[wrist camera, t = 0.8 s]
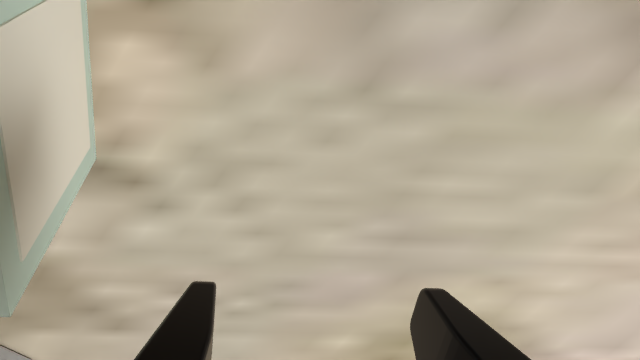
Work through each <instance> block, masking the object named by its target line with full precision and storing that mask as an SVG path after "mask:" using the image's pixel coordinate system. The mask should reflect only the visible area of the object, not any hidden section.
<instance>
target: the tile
mask: <svg viewBox="0 0 640 360" xmlns="http://www.w3.org/2000/svg"><path fill="white" fill-rule="evenodd" d="M95 160H96V146H95V130H94V114H93V98H92V82H91V66H90V50H89V34H88V18H87V2H86V0H0V317H11V315H12V313H13V311H14V309H15V308H16V306H17V304H18V302H19V300H20V298H21V296H22V295H23V293H24V291H25V289H26V287H27V285H28V284H29V282H30V280H31V278H32V276H33V274H34V272H35V271H36V269H37V267H38V265H39V263H40V261H41V260H42V258H43V256H44V254H45V252H46V250H47V248H48V247H49V245H50V243H51V241H52V239H53V237H54V236H55V234H56V232H57V230H58V228H59V226H60V224H61V223H62V221H63V219H64V217H65V215H66V213H67V212H68V210H69V208H70V206H71V204H72V202H73V200H74V199H75V197H76V195H77V193H78V191H79V189H80V187H81V186H82V184H83V182H84V180H85V178H86V176H87V175H88V173H89V171H90V169H91V167H92V165H93V163H94V162H95Z"/></svg>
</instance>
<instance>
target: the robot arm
mask: <svg viewBox="0 0 640 360" xmlns="http://www.w3.org/2000/svg"><path fill="white" fill-rule="evenodd" d="M215 297H216V284H215V283H214V282H202V281H195V282H192V283H191V284H190V285H189V287H188V288H187V289H186V291H185V292H184V293H183V295H182V296H181V297H180V299H179V300H178V301H177V303H176V304H175V305H174V307H173V308H172V310H171V311H170V312H169V314H168V315H167V316H166V318H165V319H164V320H163V322H162V323H161V324H160V326H159V327H158V328H157V330H156V331H155V332H154V334H153V335H152V336H151V338H150V339H149V340H148V342H147V343H146V344H145V346H144V347H143V348H142V350H141V351H140V352H139V354H138V355H137V356H136V358H135V359H134V360H211V356H212V342H213V329H214V313H215ZM410 331H411V336H412V341H413V346H414V351H415V356H416V360H531V359H530V358H528V357H527V356H526V355H525V354H523V353H522V352H521V351H520V350H519V349H517V348H516V347H515V346H514V345H512V344H511V343H510V342H509V341H507V340H506V339H505V338H504V337H502V336H501V335H500V334H499V333H497V332H496V331H495V330H494V329H492V328H491V327H490V326H489V325H488V324H486V323H485V322H484V321H483V320H481V319H480V318H479V317H478V316H476V315H475V314H474V313H473V312H471V311H470V310H469V309H468V308H466V307H465V306H464V305H463V304H461V303H460V302H459V301H458V300H457V299H455V298H454V297H453V296H452V295H450V294H449V293H448V292H447V291H445V290H443V289H439V288H424V289H422V290H421V291H420V293H419V296H418V299H417V302H416V305H415V308H414V311H413V315H412V318H411V323H410Z"/></svg>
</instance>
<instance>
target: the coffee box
mask: <svg viewBox="0 0 640 360" xmlns="http://www.w3.org/2000/svg"><path fill="white" fill-rule="evenodd" d="M0 360H31V359H29V358H27V357H24V356H22V355H20V354H18V353H16V352H13V351H11V350H9V349H7V348H5V347H2V346H0Z"/></svg>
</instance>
